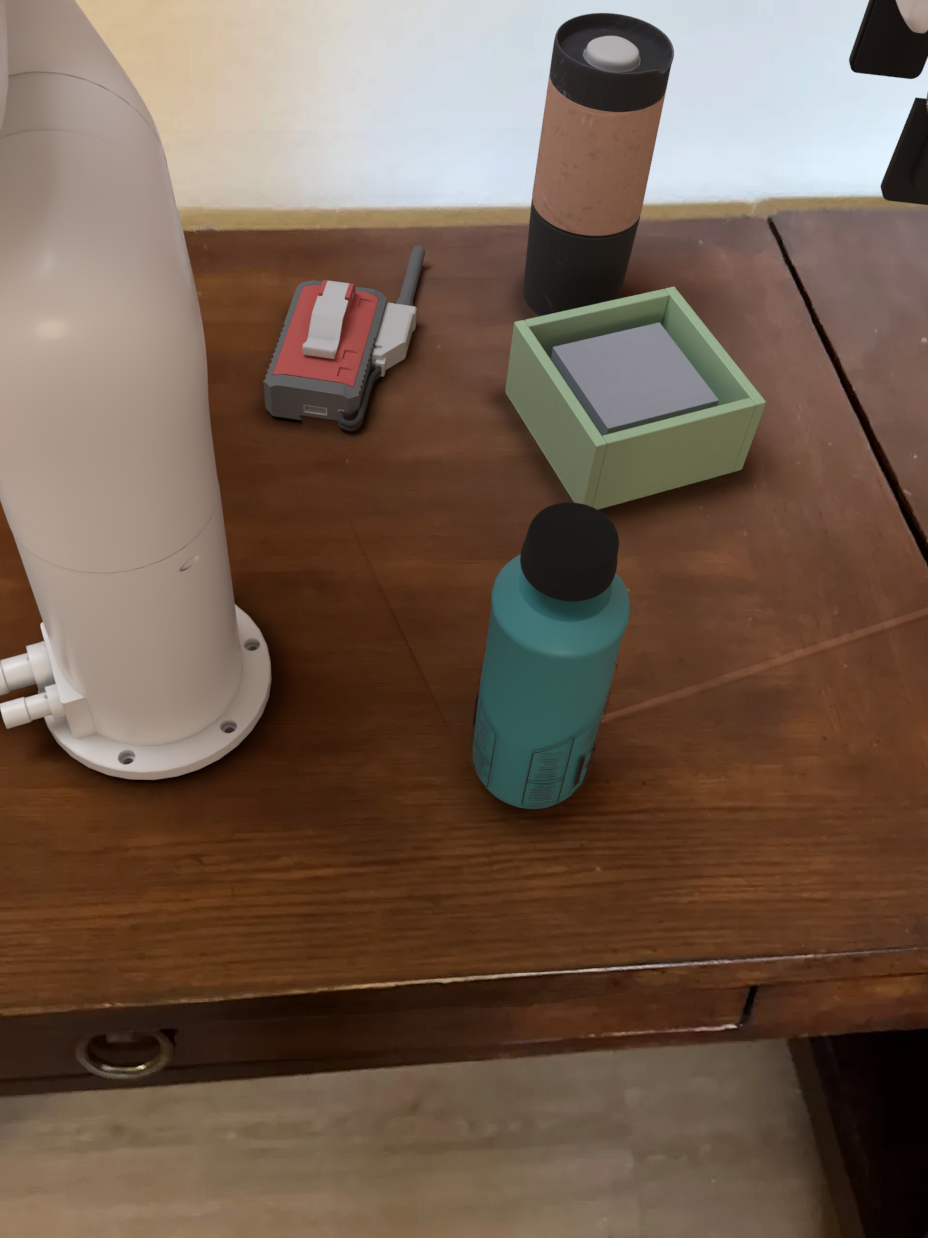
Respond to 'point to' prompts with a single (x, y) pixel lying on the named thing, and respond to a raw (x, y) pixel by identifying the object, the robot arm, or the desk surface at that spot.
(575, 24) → the travel mug
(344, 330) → the walkie-talkie
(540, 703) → the beverage bottle
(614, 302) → the crate
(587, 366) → the block
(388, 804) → the desk surface
